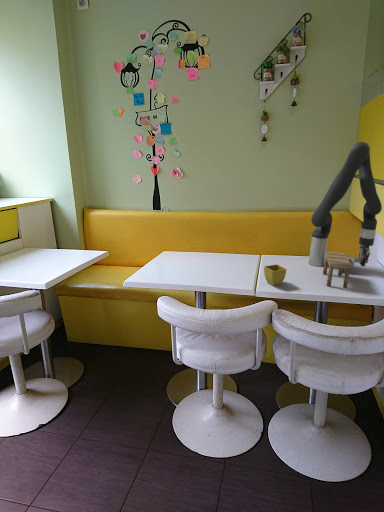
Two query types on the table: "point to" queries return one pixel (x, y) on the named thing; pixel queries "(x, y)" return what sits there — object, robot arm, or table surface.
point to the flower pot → (274, 274)
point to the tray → (354, 260)
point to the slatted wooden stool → (336, 261)
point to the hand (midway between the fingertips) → (362, 265)
